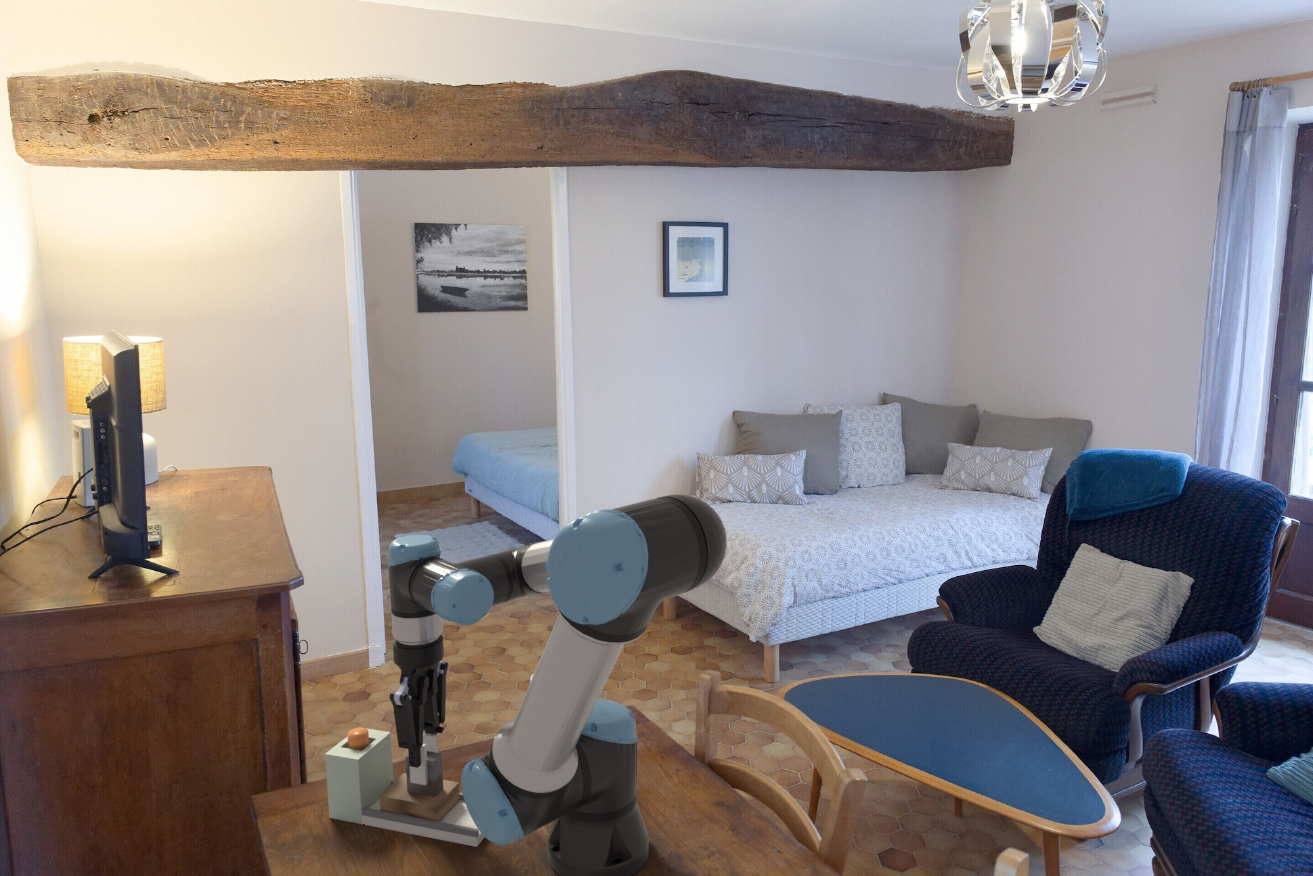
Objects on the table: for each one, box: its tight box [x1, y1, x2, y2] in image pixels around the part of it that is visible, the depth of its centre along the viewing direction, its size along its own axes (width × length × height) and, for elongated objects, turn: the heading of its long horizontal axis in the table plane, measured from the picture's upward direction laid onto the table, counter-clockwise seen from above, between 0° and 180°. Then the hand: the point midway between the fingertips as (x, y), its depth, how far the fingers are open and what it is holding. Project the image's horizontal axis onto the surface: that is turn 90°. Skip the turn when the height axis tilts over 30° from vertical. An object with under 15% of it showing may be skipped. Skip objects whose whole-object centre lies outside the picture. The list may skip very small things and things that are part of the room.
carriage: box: [380, 751, 460, 822], centre depth 146 cm, size 10×7×9 cm
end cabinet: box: [324, 726, 394, 825], centre depth 149 cm, size 6×9×11 cm, turn 163°
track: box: [361, 779, 486, 848], centre depth 146 cm, size 20×9×2 cm, turn 73°
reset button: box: [346, 727, 369, 751], centre depth 148 cm, size 3×3×2 cm
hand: (424, 777), depth 145 cm, fingers closed on carriage, 2 cm apart
